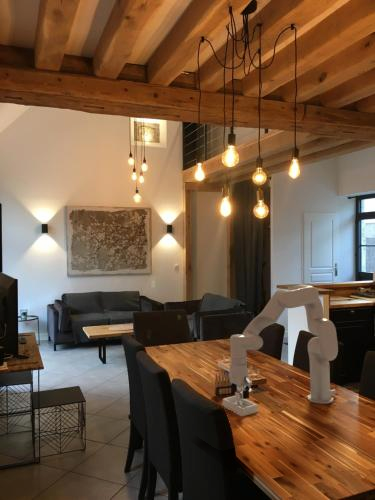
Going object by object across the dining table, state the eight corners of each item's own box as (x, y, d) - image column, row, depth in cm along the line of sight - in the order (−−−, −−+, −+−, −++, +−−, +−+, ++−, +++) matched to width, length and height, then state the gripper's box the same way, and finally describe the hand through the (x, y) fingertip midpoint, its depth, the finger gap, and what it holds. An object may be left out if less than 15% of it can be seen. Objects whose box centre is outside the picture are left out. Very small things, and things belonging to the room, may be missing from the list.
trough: (238, 401, 218) (238, 395, 218) (258, 411, 204) (258, 404, 204) (222, 405, 213) (221, 398, 213) (241, 416, 199) (241, 409, 199)
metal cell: (240, 404, 211) (240, 388, 211) (245, 407, 208) (245, 390, 208) (234, 406, 209) (233, 390, 209) (238, 408, 206) (238, 392, 206)
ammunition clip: (233, 393, 230) (233, 371, 230) (235, 394, 228) (234, 372, 228) (214, 395, 228) (214, 373, 228) (215, 396, 226) (215, 374, 226)
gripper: (222, 358, 214) (223, 392, 214) (243, 365, 199) (244, 402, 199) (234, 355, 218) (235, 389, 218) (256, 362, 202) (257, 398, 203)
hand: (240, 395), depth 208 cm, fingers open, 9 cm apart
